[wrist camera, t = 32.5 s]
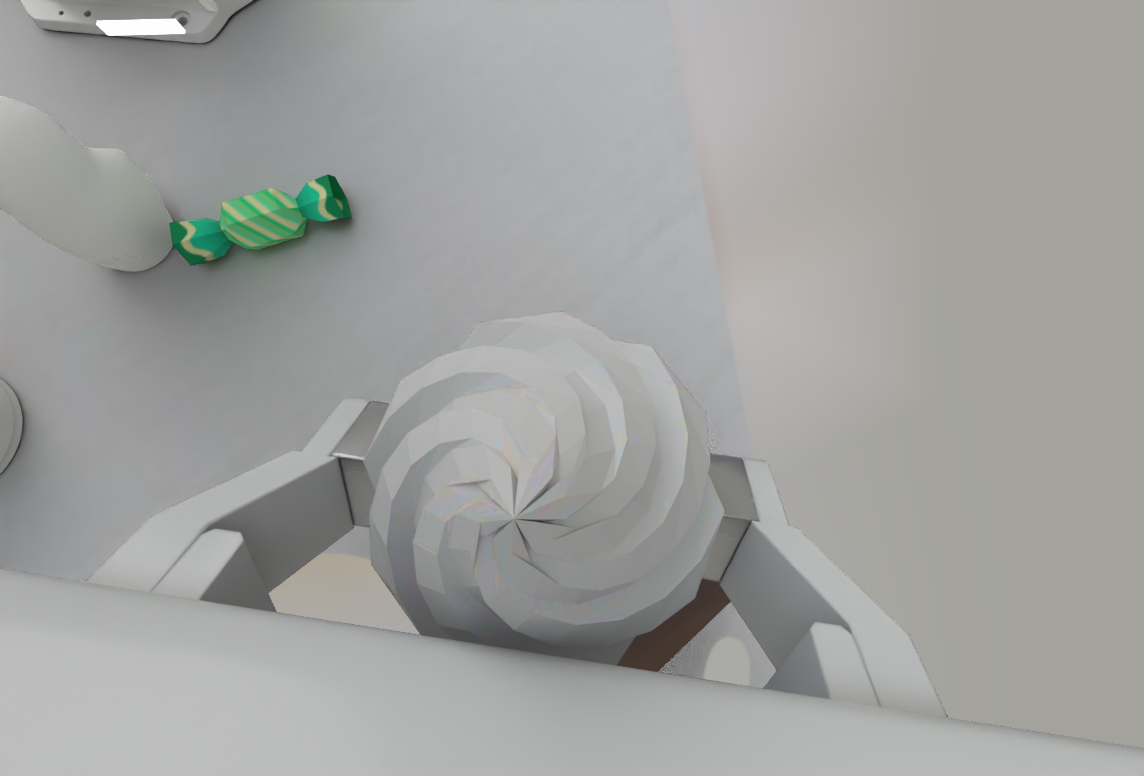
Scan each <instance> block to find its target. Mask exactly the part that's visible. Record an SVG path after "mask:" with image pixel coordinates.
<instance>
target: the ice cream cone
mask: <svg viewBox="0 0 1144 776" xmlns="http://www.w3.org/2000/svg"><path fill="white" fill-rule="evenodd" d="M363 463H364V465H365V468H366V470H367V472H368V475H369V477H370V480H371V482H372V484H373V487H374V489H375V496H374V499H373V503H372V506H371V510H370V513H369V517H370V543H371V565H372V566H373V568H374V569H375V571H376V572H377V573H378V575H379V576H380V578H381V579H382V581H383V582H384V583H385V585H386V586H387V588H388V589H389V590H390V592H391V593H392V595H393V596H394V598H395V599H396V600H397V602H398V603H399V605H400V606H401V608H402V609H403V610H404V612H405V613H406V615H407V616H408V618H409V619H410V620H411V622H412V623H413V625H414V626H415V627H416V629H417V630H418V632H419V633H420V635H424V636H431V637H437V638H443V639H450V640H456V641H463V642H469V643H475V644H482V645H488V646H495V647H501V648H507V649H514V650H520V651H527V652H533V653H539V654H546V655H552V656H559V657H565V658H571V659H578V660H584V661H590V662H597V663H603V664H610V665H617V664H618V662H619V661H620V659H621V658H622V656H623V655H624V653H625V652H626V650H627V649H628V647H629V646H630V644H631V643H632V641H633V640H634V638H635V637H636V636H638V635H641V634H644V633H647V632H650V631H652V630H653V629H655V628H656V627H657V626H659V625H660V624H661V623H663V622H664V621H665V620H667V619H668V618H669V617H671V616H672V615H673V614H675V613H676V612H677V611H679V610H680V609H681V608H683V607H684V606H685V605H687V604H688V603H689V602H691V601H692V600H693V599H695V597H696V594H697V591H698V588H699V585H700V582H701V579H702V576H703V573H704V570H705V567H706V564H707V561H708V558H709V556H710V553H711V550H712V547H713V544H714V541H715V538H716V535H717V532H718V529H719V526H720V523H721V520H722V517H723V514H724V512H725V511H724V508H723V506H722V504H721V502H720V499H719V497H718V495H717V493H716V490H715V488H714V486H713V483H712V481H711V479H710V477H709V474H708V471H709V467H710V451H709V439H708V427H707V415H706V411H705V410H704V409H703V408H702V407H701V405H700V404H699V403H698V402H697V400H696V399H695V398H694V397H693V396H692V394H691V393H690V392H689V391H688V390H687V388H686V387H685V386H684V385H683V384H682V382H681V381H680V380H679V379H678V378H677V376H676V375H675V374H674V373H673V371H672V370H671V369H670V368H669V367H668V365H667V364H666V363H665V362H664V361H663V359H662V358H661V357H660V356H659V355H658V353H657V352H656V351H655V350H654V349H653V347H652V346H649V345H641V344H634V343H627V342H619V341H612V340H610V339H609V337H608V336H607V335H606V334H605V333H603V332H601V331H599V330H598V329H596V328H594V327H592V326H590V325H588V324H586V323H584V322H582V321H580V320H578V319H577V318H575V317H573V316H571V315H569V314H567V313H565V312H563V311H561V312H553V313H546V314H539V315H531V316H524V317H516V318H509V319H502V320H494V321H487V322H479V323H478V324H477V326H476V327H475V328H474V329H473V331H472V332H471V333H470V335H469V336H468V337H467V338H466V340H465V341H464V342H463V344H462V345H461V346H460V347H459V349H458V350H457V351H456V352H453V353H449V354H445V355H441V356H439V357H437V358H436V359H434V360H433V361H431V362H429V363H428V364H426V365H425V366H423V367H421V368H420V369H418V370H417V371H415V372H413V373H412V374H410V375H409V376H407V377H405V378H404V379H402V380H401V381H400V383H399V385H398V387H397V389H396V391H395V394H394V396H393V398H392V400H391V402H390V404H389V407H388V409H387V411H386V413H385V415H384V417H383V420H382V422H381V424H380V426H379V428H378V430H377V433H376V435H375V437H374V439H373V441H372V443H371V446H370V448H369V450H368V452H367V454H366V456H365V459H364V461H363Z"/></svg>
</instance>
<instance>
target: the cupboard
mask: <svg viewBox="0 0 1144 776" xmlns="http://www.w3.org/2000/svg"><path fill="white" fill-rule="evenodd" d="M730 602H731V601H730V599H729V598H728V596H727V595H726V593H725V592H724V590H723V589H722V587H721V586H720V582H717V581H711V580H706V579H701V582H700V585H699V588H698V591H697V594H696V597H695V599H693V600H692V601H691V602H689V603H688V604H687V605H685V606H684V607H683V608H681V609H680V610H679V611H677V612H676V613H675V614H673V615H672V616H671V617H669V618H668V619H667V620H665V621H664V622H663V623H661V624H660V625H659V626H657V627H656V628H655V629H653V630H652V631H650V632H647V633H644V634H641V635H638V636H636V637H635V638H634V640H633V641H632V643H631V644H630V646H629V647H628V649H627V650H626V652H625V653H624V655H623V656H622V658H621V659H620V661H619V662H618V664H617V665H616V666H622V667H629V668H635V669H641V670H648V671H654V672H658V671H659V670H660V669H661V668H662V667H663V666H664V665H665V664H666V663H667V662H668V661H669V660H670V659H671V658H672V657H673V656H674V655H676V654H677V653H678V652H679V651H680V650H681V649H682V648H683V647H684V646H685V645H686V644H687V643H688V642H689V641H690V640H691V639H692V638H693V637H694V636H695V635H696V634H697V633H698V632H699V631H700V630H701V629H703V628H704V627H705V626H706V625H707V624H708V623H709V622H710V621H711V620H712V619H713V618H714V617H715V616H716V615H717V614H718V613H719V612H720V611H721V610H722V609H723V608H724V607H725V606H726V605H727V604H729V603H730Z"/></svg>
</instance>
